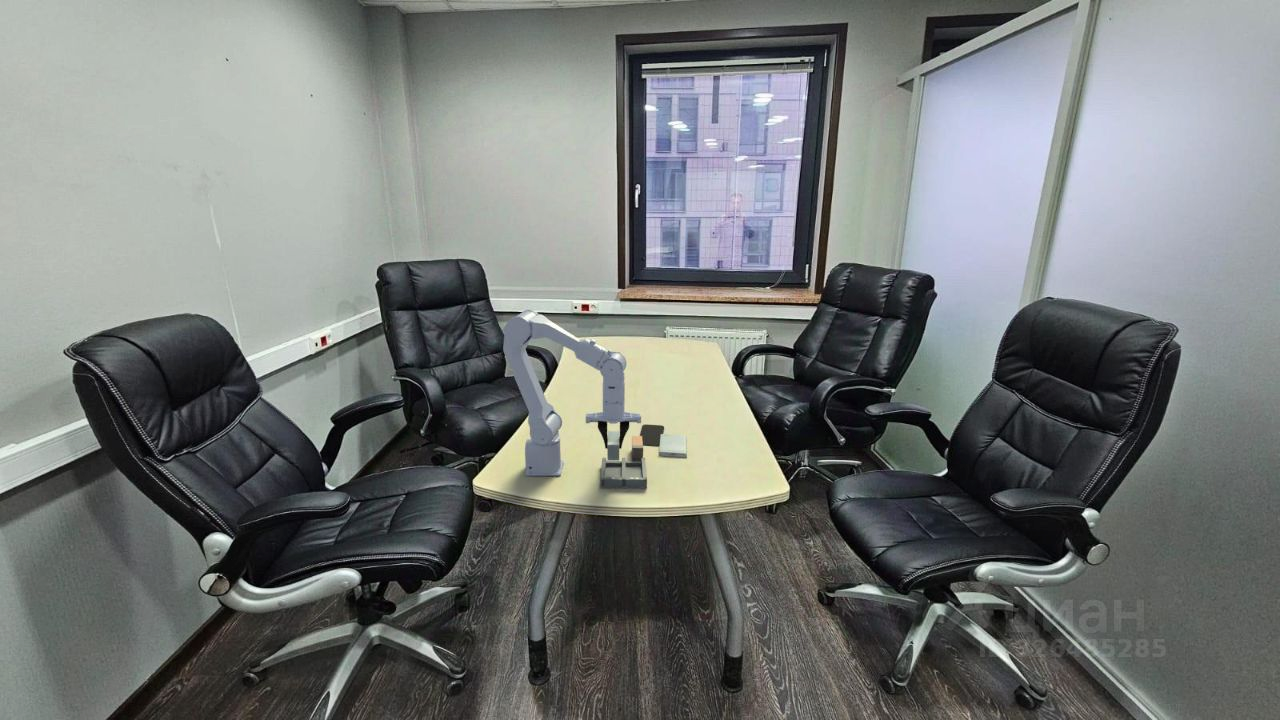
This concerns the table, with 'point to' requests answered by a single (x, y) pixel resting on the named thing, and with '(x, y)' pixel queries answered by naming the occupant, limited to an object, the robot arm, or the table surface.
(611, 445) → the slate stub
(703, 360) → the table surface
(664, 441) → the hard drive
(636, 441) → the terracotta stub
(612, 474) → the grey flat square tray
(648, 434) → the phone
